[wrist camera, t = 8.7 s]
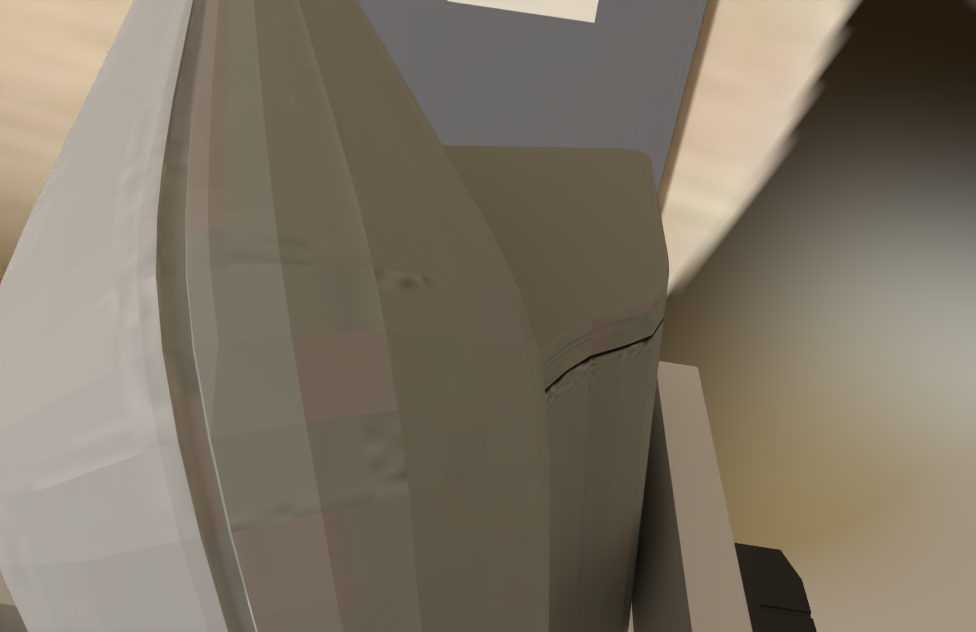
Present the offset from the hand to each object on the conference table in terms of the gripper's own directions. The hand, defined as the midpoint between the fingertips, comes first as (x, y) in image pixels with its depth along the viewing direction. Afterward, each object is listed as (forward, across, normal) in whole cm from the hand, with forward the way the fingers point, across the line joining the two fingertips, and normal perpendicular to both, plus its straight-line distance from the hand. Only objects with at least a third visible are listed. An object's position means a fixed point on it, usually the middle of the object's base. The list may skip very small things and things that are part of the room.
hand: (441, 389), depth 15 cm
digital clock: (+1, +1, 0) cm, 1 cm away
